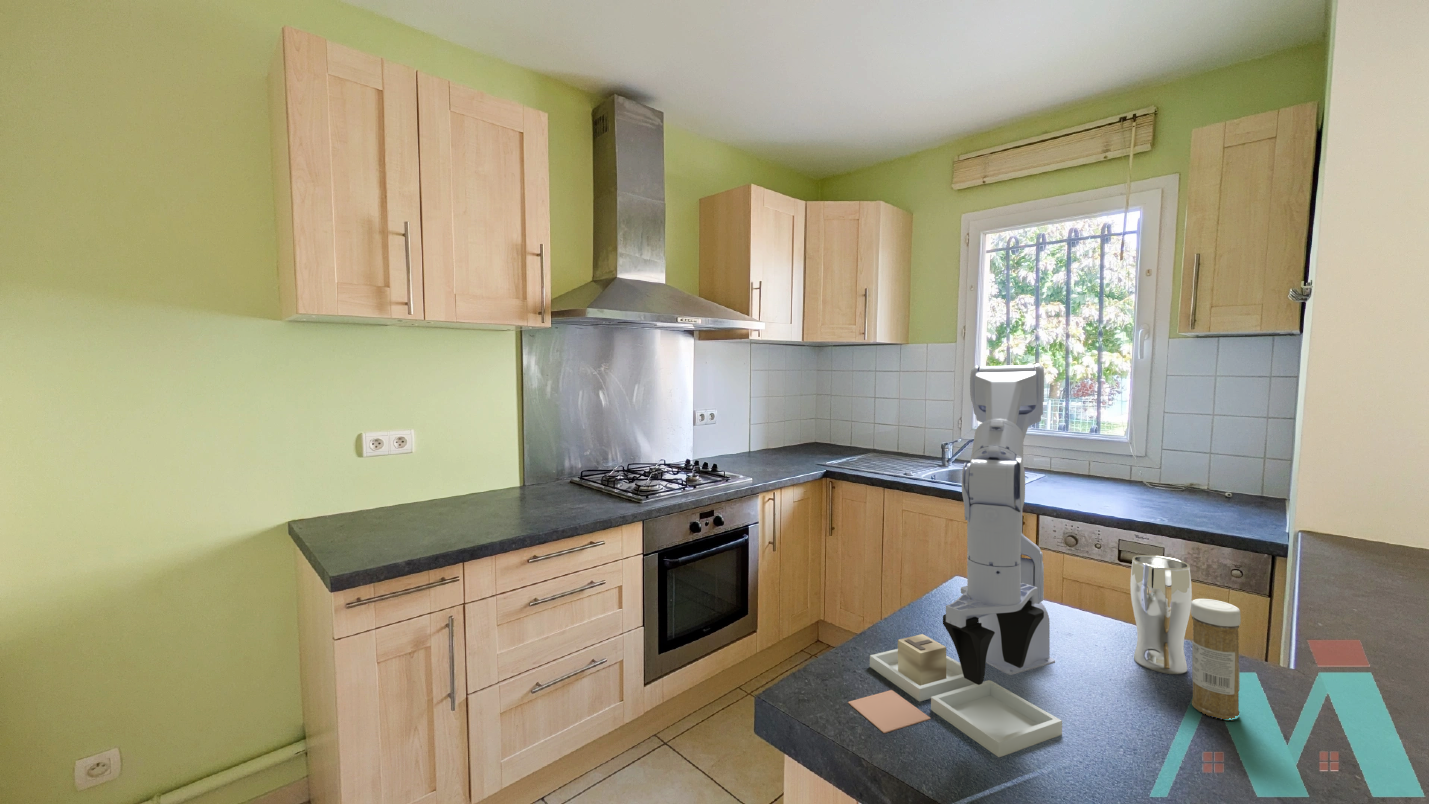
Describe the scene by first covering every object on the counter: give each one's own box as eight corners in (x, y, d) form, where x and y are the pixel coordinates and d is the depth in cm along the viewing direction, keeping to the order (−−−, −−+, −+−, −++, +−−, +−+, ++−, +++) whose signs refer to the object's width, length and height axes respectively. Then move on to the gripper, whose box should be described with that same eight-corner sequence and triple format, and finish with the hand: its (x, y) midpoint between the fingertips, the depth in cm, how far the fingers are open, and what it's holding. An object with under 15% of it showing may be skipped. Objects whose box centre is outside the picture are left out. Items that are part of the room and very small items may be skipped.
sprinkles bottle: (1245, 714, 69) (1245, 605, 69) (1232, 726, 67) (1233, 614, 66) (1197, 697, 73) (1198, 594, 73) (1184, 708, 71) (1185, 602, 70)
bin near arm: (923, 655, 86) (923, 642, 85) (977, 687, 76) (977, 672, 76) (869, 669, 82) (869, 655, 82) (919, 704, 72) (919, 689, 72)
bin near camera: (989, 694, 74) (989, 679, 74) (1062, 737, 65) (1062, 720, 65) (931, 712, 71) (930, 696, 71) (998, 760, 61) (998, 742, 61)
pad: (891, 693, 75) (891, 689, 75) (930, 722, 69) (930, 717, 69) (848, 705, 72) (847, 701, 72) (884, 736, 66) (884, 732, 66)
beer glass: (1138, 671, 80) (1138, 566, 80) (1124, 649, 86) (1124, 552, 86) (1200, 680, 77) (1200, 571, 77) (1180, 657, 84) (1180, 557, 83)
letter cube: (922, 664, 82) (922, 633, 82) (946, 679, 78) (946, 646, 78) (898, 671, 80) (897, 639, 80) (920, 686, 76) (920, 652, 76)
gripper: (1000, 543, 74) (1001, 644, 75) (924, 560, 67) (924, 673, 68) (1054, 556, 68) (1054, 667, 69) (976, 577, 61) (977, 701, 62)
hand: (993, 672), depth 68 cm, fingers open, 7 cm apart
